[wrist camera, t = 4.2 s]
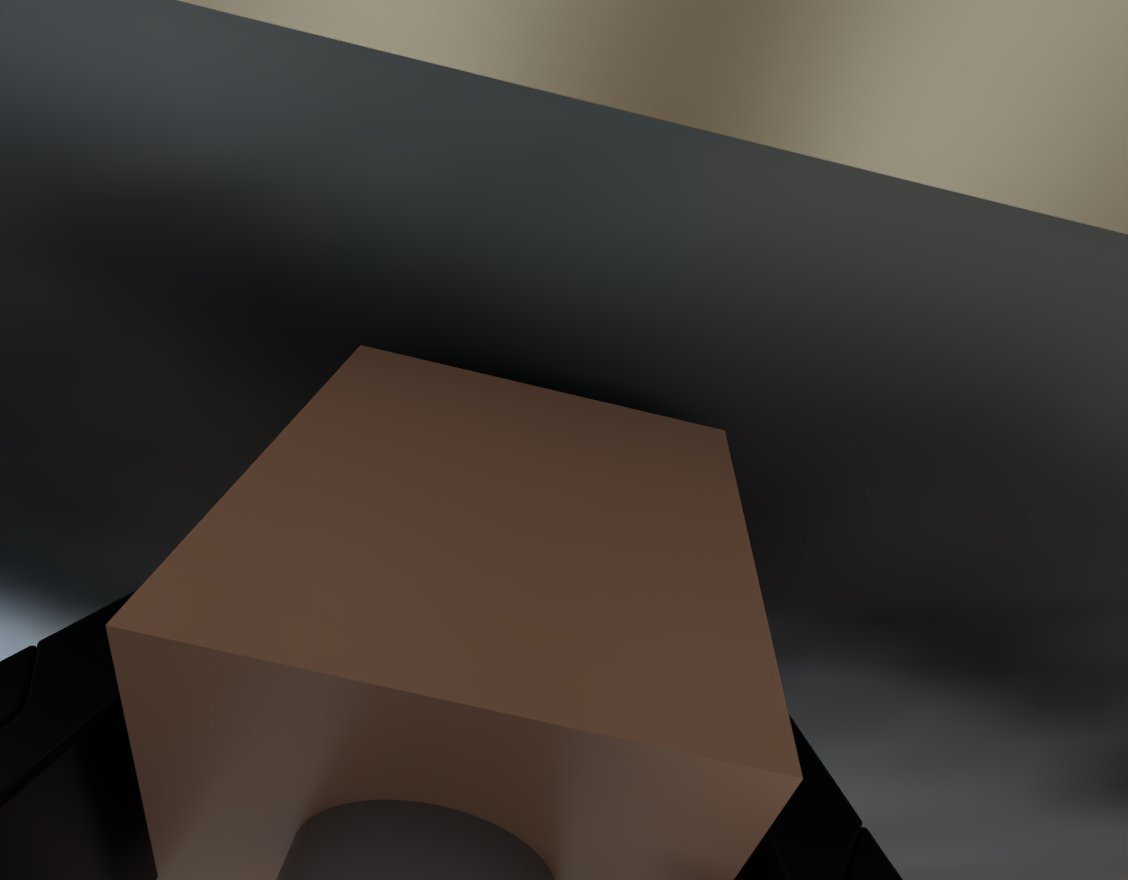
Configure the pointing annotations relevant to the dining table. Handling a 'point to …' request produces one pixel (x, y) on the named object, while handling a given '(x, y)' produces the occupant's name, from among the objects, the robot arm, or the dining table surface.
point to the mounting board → (810, 78)
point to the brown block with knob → (460, 647)
